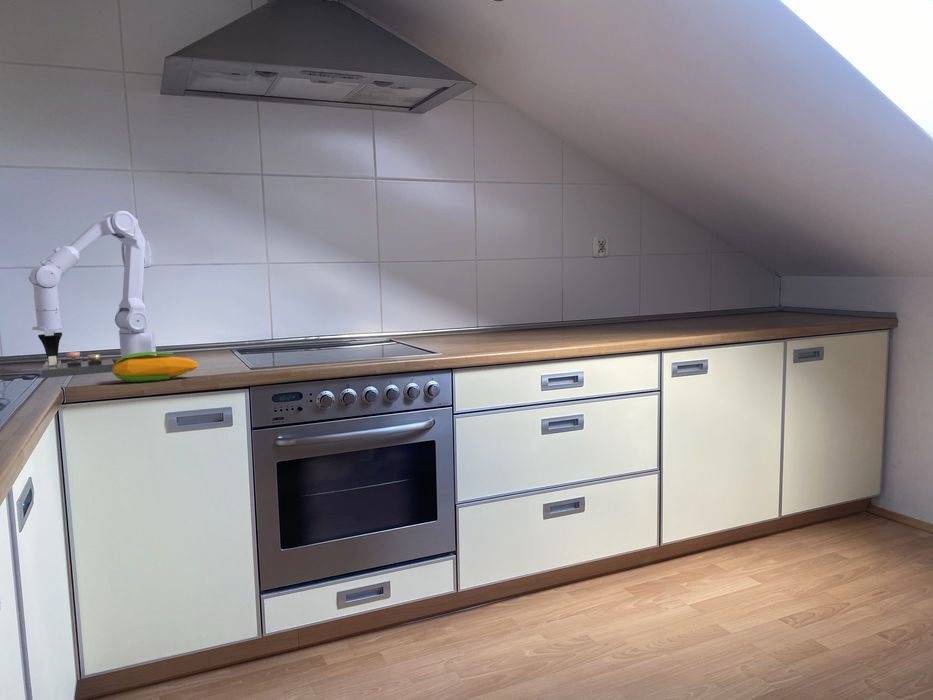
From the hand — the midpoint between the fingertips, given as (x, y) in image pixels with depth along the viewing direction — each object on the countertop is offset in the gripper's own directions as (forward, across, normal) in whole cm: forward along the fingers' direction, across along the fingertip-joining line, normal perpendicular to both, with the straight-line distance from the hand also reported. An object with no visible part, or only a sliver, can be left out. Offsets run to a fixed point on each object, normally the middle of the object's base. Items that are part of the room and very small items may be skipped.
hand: (52, 359), depth 191 cm
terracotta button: (0, +4, +5) cm, 6 cm away
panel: (+3, +4, +6) cm, 8 cm away
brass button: (+1, +4, +10) cm, 11 cm away
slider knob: (+1, +2, 0) cm, 2 cm away
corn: (+4, +31, +23) cm, 39 cm away
